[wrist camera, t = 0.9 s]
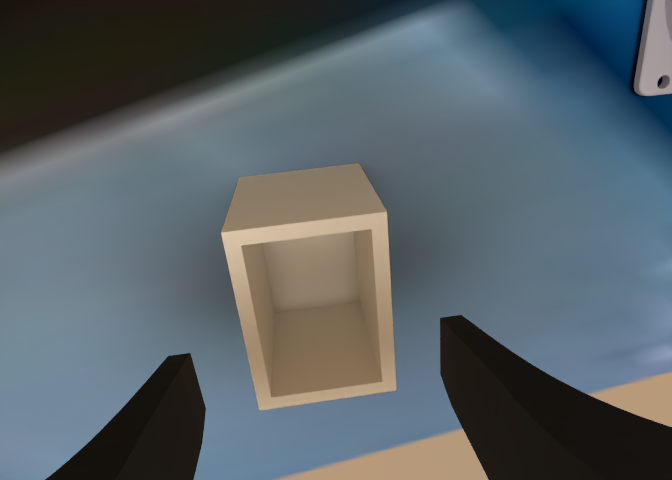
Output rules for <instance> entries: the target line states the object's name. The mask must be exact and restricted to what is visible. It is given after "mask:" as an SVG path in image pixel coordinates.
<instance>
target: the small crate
mask: <svg viewBox="0 0 672 480" xmlns="http://www.w3.org/2000/svg"><path fill="white" fill-rule="evenodd" d="M221 235H222V239H223V244H224V249H225V253H226V258H227V262H228V267H229V272H230V276H231V281H232V286H233V290H234V295H235V299H236V304H237V309H238V313H239V318H240V322H241V327H242V332H243V336H244V341H245V346H246V350H247V355H248V359H249V364H250V369H251V373H252V378H253V382H254V387H255V392H256V396H257V401H258V406H259V410H266V409H273V408H280V407H287V406H293V405H300V404H307V403H314V402H321V401H328V400H335V399H341V398H348V397H355V396H362V395H369V394H376V393H382V392H389V391H396V374H395V355H394V336H393V317H392V298H391V279H390V260H389V241H388V222H387V211H386V209H385V207H384V206H383V204H382V202H381V201H380V199H379V197H378V195H377V194H376V192H375V190H374V189H373V187H372V185H371V183H370V182H369V180H368V178H367V176H366V175H365V173H364V171H363V170H362V168H361V166H360V164H359V163H355V164H347V165H338V166H330V167H322V168H313V169H305V170H296V171H288V172H280V173H271V174H263V175H255V176H246V177H239V180H238V183H237V186H236V189H235V192H234V195H233V198H232V201H231V204H230V207H229V210H228V213H227V216H226V219H225V222H224V225H223V228H222V231H221Z"/></svg>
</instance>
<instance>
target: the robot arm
mask: <svg viewBox="0 0 672 480" xmlns="http://www.w3.org/2000/svg"><path fill="white" fill-rule="evenodd" d="M661 76H662V79H663V81H662V83H661V85H660V86H659V87H658V86H657V82H658V80H659V78H660V77H661ZM634 90H635V92H636V93H637V94H639V95H643V96H654V95H662V94H671V93H672V0H648V1H647V7H646V13H645V19H644V25H643V31H642V37H641V44H640V50H639V56H638V62H637V68H636V74H635V80H634ZM440 365H441V377H442V380H443V383H444V386H445V389H446V391H447V394H448V397H449V400H450V402H451V405H452V407H453V409H454V411H455V413H456V415H457V417H458V419H459V421H460V423H461V425H462V427H463V429H464V431H465V433H466V435H467V437H468V439H469V441H470V443H471V445H472V447H473V449H474V451H475V453H476V455H477V457H478V459H479V461H480V463H481V465H482V467H483V469H484V471H485V473H486V475H487V477H488V479H489V480H672V427H669V426H666V425H663V424H660V423H657V422H654V421H651V420H649V419H646V418H643V417H640V416H637V415H635V414H632V413H630V412H627V411H624V410H622V409H619V408H617V407H614V406H612V405H610V404H608V403H605V402H603V401H601V400H598V399H596V398H594V397H591V396H589V395H587V394H585V393H583V392H581V391H579V390H577V389H575V388H573V387H571V386H569V385H567V384H565V383H563V382H561V381H559V380H557V379H556V378H554V377H552V376H550V375H548V374H547V373H545V372H543V371H542V370H540V369H538V368H537V367H535V366H533V365H532V364H530V363H528V362H527V361H525V360H524V359H522V358H521V357H519V356H518V355H516V354H515V353H513V352H512V351H510V350H509V349H507V348H506V347H504V346H503V345H501V344H500V343H499V342H497V341H496V340H494V339H493V338H492V337H490V336H489V335H487V334H486V333H485V332H483V331H482V330H481V329H479V328H478V327H477V326H475V325H474V324H473V323H471V322H470V321H469V320H467V319H466V318H464V317H463V316H462V315H458V316H451V317H444V318H440ZM205 410H206V408H205V404H204V401H203V397H202V393H201V390H200V386H199V383H198V379H197V376H196V372H195V368H194V365H193V361H192V358H191V354H190V353H187V354H180V355H173V356H168V357H167V358H166V359H165V361H164V362H163V363H162V364H161V365H160V366H159V367H158V369H157V370H156V371H155V372H154V373H153V374H152V375H151V377H150V378H149V379H148V380H147V381H146V382H145V384H144V385H143V386H142V387H141V388H140V389H139V390H138V392H137V393H136V394H135V395H134V396H133V397H132V398H131V399H130V401H129V402H128V403H127V404H126V405H125V406H124V407H123V408H122V409H121V410H120V411H119V412H118V413H117V414H116V415H115V416H114V418H113V419H112V420H111V421H110V422H109V423H108V424H107V425H106V426H105V427H104V428H103V429H102V430H101V431H100V432H99V433H98V434H97V435H96V436H95V437H94V438H93V439H92V440H91V441H90V442H89V443H88V444H86V445H85V446H84V447H83V448H82V449H81V450H80V451H79V452H78V453H77V454H75V455H74V456H73V457H72V458H71V459H70V460H69V461H67V462H66V463H65V464H64V465H63V466H62V467H61V468H59V469H58V470H57V471H56V472H55V473H53V474H52V475H51V476H49V477H48V478H47V479H46V480H193V479H194V475H195V471H196V467H197V462H198V458H199V454H200V450H201V445H202V439H203V430H204V421H205Z"/></svg>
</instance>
